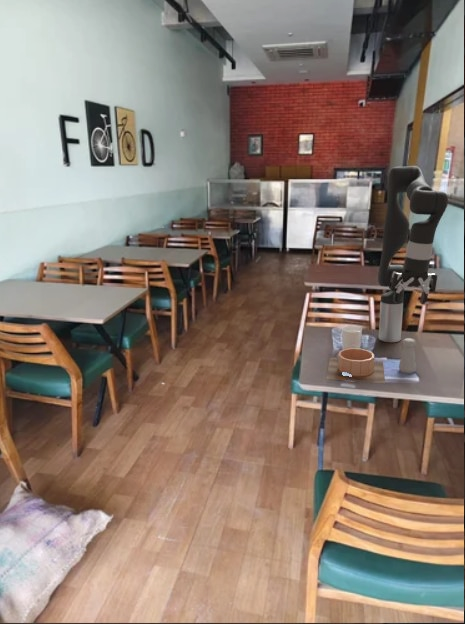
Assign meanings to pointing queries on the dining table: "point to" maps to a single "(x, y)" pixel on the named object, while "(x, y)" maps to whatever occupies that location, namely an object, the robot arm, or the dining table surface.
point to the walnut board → (374, 377)
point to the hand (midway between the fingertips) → (409, 303)
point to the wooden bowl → (356, 362)
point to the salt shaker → (408, 357)
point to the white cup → (351, 337)
